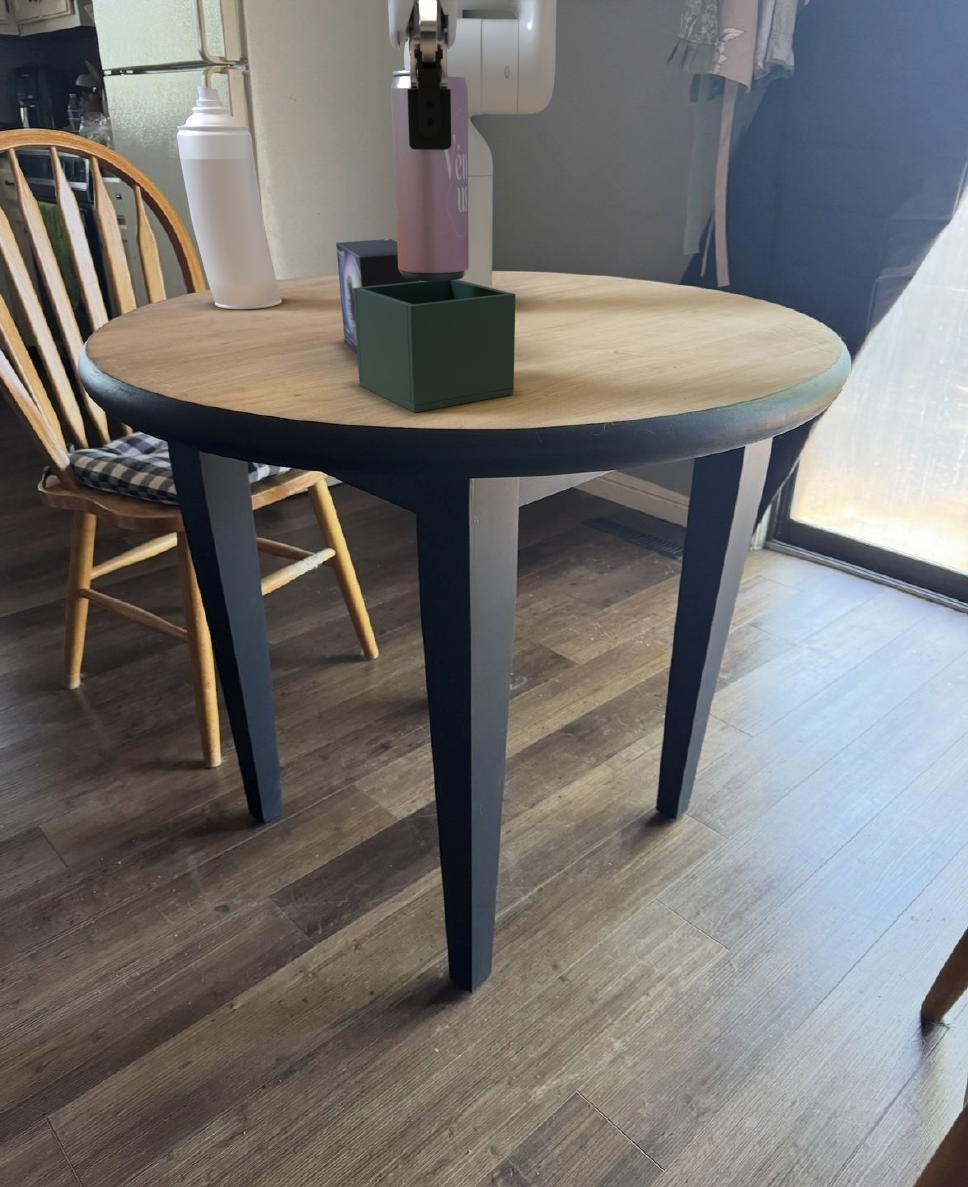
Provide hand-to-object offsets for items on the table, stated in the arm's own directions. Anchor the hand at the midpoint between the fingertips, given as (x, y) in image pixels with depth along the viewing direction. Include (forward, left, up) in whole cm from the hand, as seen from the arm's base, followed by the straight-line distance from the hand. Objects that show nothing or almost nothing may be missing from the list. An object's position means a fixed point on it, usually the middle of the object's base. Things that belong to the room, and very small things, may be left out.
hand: (429, 145), depth 70 cm
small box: (-16, +3, -20) cm, 26 cm away
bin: (0, 0, -20) cm, 20 cm away
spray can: (-49, 0, -20) cm, 53 cm away
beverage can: (0, 0, -10) cm, 10 cm away
